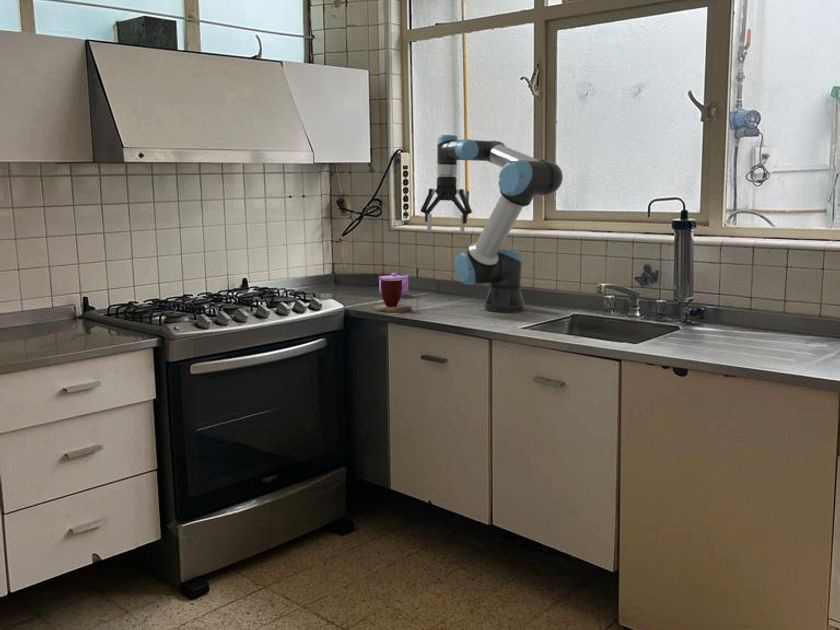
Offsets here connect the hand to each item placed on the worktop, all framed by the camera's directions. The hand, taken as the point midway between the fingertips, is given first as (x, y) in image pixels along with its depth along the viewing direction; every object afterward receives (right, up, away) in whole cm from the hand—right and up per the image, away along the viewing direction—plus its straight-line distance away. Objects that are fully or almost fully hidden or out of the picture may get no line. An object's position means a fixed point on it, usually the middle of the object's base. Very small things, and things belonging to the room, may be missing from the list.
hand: (445, 231), depth 335 cm
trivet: (-20, -30, -10) cm, 38 cm away
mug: (-20, -29, -11) cm, 37 cm away
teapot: (-21, -25, +27) cm, 42 cm away
